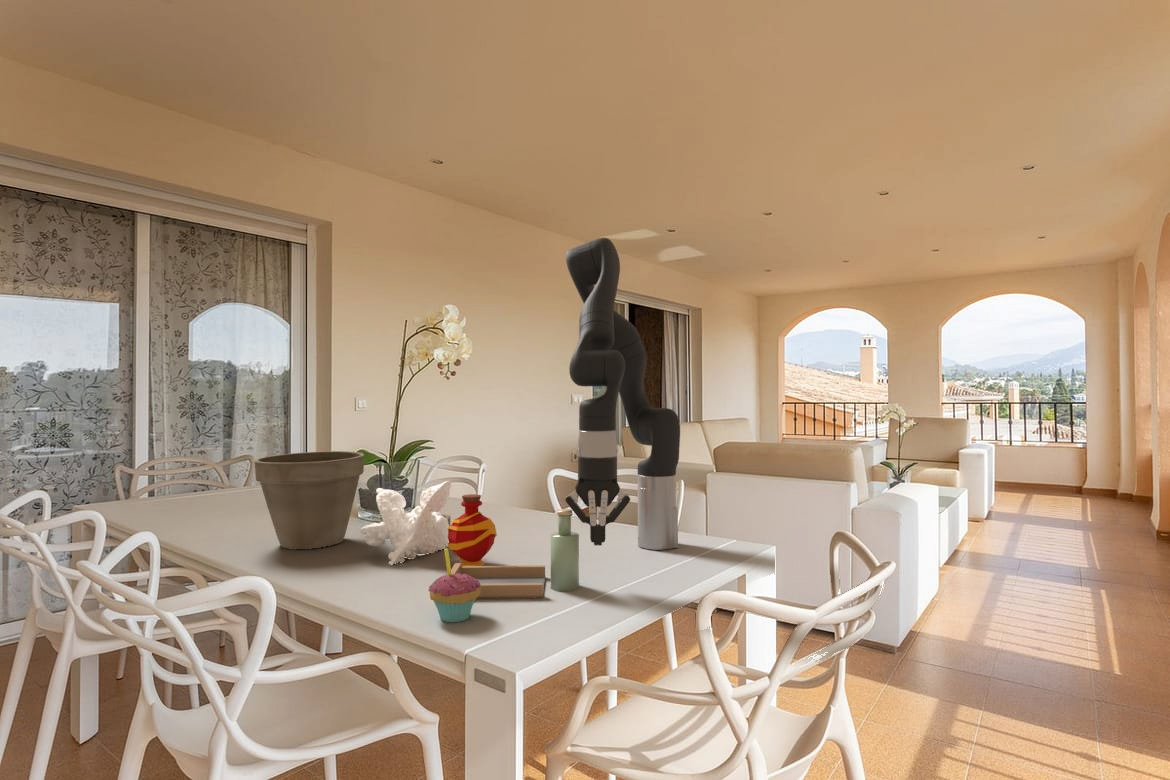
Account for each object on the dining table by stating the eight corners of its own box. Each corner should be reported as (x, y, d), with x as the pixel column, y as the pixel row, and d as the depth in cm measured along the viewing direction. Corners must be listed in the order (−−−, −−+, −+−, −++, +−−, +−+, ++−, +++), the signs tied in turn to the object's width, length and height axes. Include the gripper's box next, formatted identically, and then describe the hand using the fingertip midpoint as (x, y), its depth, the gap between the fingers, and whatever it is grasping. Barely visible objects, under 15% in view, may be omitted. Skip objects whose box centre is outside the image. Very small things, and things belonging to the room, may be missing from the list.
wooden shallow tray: (545, 577, 131) (545, 562, 131) (542, 598, 118) (542, 581, 118) (455, 578, 130) (455, 563, 130) (442, 599, 117) (442, 582, 117)
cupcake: (418, 622, 105) (418, 548, 105) (447, 606, 113) (447, 537, 113) (464, 629, 102) (464, 553, 102) (491, 612, 110) (490, 541, 110)
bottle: (578, 582, 127) (578, 507, 127) (579, 591, 122) (578, 513, 122) (551, 582, 127) (550, 508, 127) (550, 591, 121) (550, 513, 121)
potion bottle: (474, 574, 133) (473, 501, 133) (437, 567, 138) (437, 497, 138) (506, 563, 141) (506, 494, 141) (470, 556, 147) (470, 490, 147)
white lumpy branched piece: (468, 504, 163) (444, 470, 146) (459, 584, 152) (432, 558, 136) (395, 507, 165) (364, 474, 148) (382, 586, 154) (346, 560, 138)
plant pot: (257, 561, 144) (256, 463, 144) (252, 539, 165) (252, 454, 165) (373, 547, 156) (373, 457, 156) (354, 528, 178) (354, 449, 178)
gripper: (630, 452, 128) (630, 539, 128) (563, 452, 128) (563, 540, 128) (634, 455, 121) (634, 549, 121) (562, 456, 120) (563, 549, 120)
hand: (597, 544), depth 124 cm, fingers closed
